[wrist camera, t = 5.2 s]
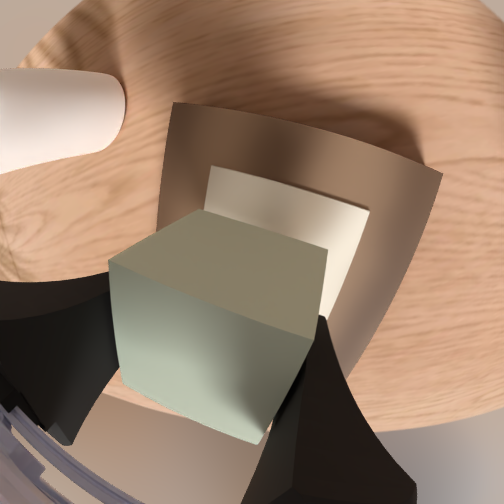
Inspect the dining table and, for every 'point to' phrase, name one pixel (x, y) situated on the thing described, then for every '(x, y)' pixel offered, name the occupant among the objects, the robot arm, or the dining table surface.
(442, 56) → the dining table surface
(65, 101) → the can
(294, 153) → the base
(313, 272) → the cube
